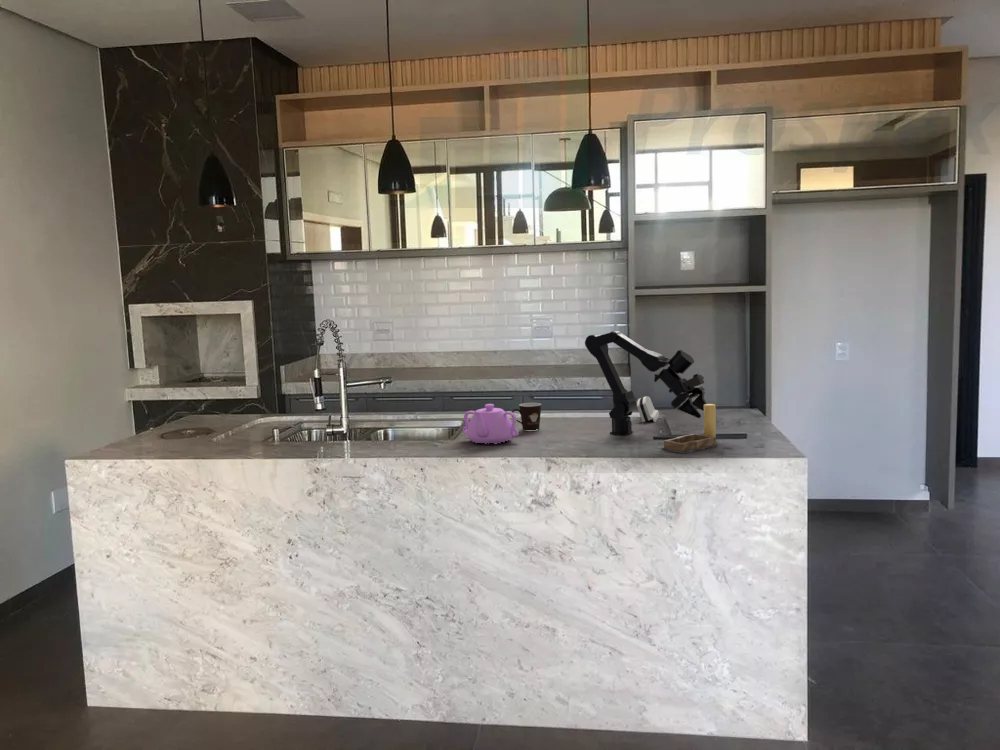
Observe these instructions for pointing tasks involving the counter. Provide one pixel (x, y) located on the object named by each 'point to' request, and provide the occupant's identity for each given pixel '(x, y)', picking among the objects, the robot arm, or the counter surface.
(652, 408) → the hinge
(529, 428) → the coffee mug
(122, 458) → the counter surface
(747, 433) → the counter surface
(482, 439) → the teapot
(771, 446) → the counter surface
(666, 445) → the frame
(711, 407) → the peg
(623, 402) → the robot arm
